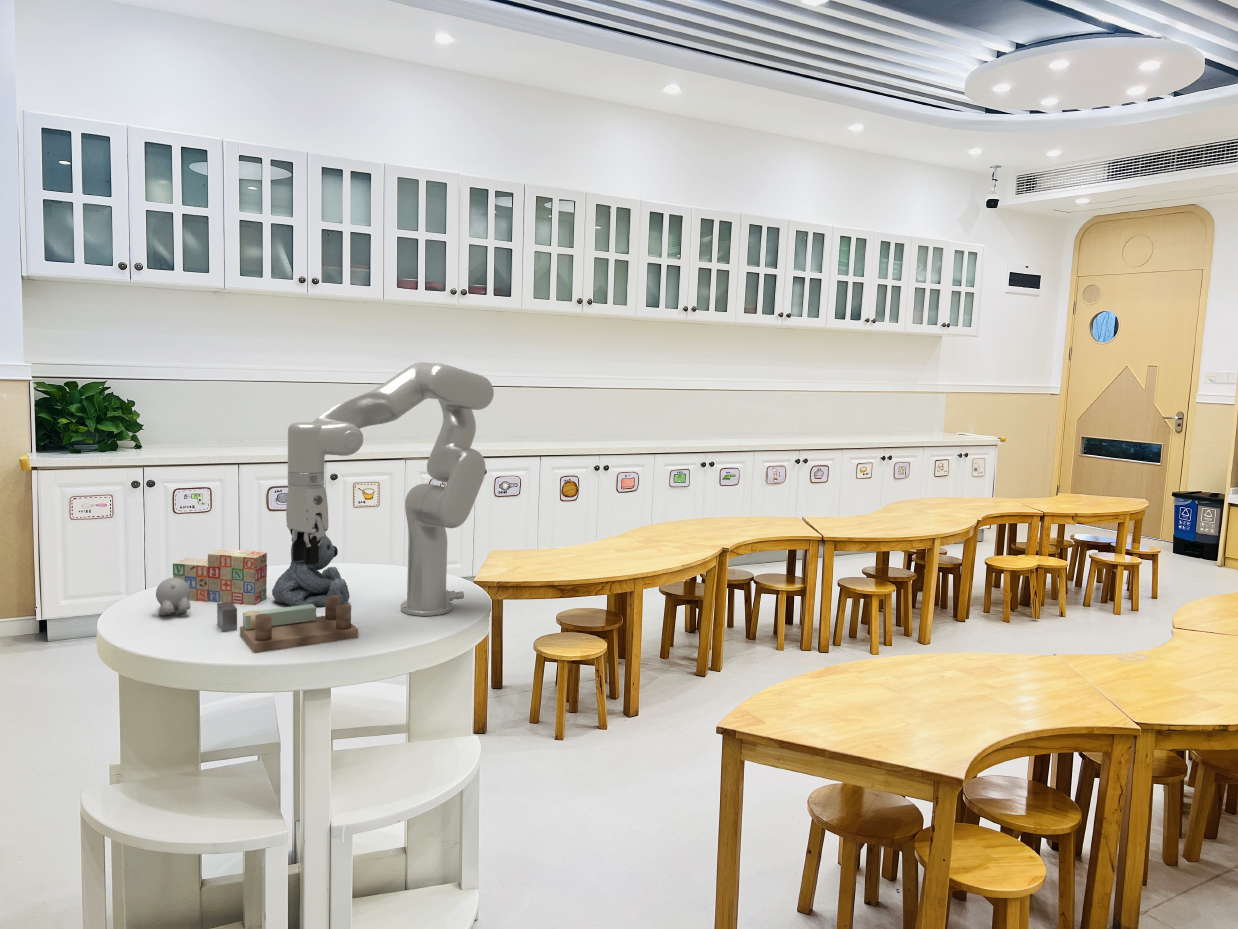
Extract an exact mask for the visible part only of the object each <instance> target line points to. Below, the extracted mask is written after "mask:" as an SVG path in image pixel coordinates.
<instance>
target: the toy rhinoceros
mask: <svg viewBox="0 0 1238 929" xmlns="http://www.w3.org/2000/svg"><path fill="white" fill-rule="evenodd" d="M189 597H190V587H189V585H188V584H187V583H186V582H185V581H184V580H182V579H180V578H173V577H170V578H166V579H163V580H162V581H161V582H159V584H158V586H157V587H156V591H155V599H156V601H157V602H158V604H159V605H160V607H159V610H158V613H159V616H164V617H165V616H171V615H172V613H175V614H176V615H177V614H178V615H180V614H185V613H187V612H188V611H189V610H191V603H190V600H188V599H189Z"/></svg>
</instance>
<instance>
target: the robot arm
mask: <svg viewBox="0 0 1238 929" xmlns="http://www.w3.org/2000/svg"><path fill="white" fill-rule="evenodd" d="M494 394H495V392H494V387H493V385H492V382H491V381H490V380H489V379H488V378H487V377H485V376H484V375H481V374H478V373H474V372H471V371H468V370H465V369H462V368H458V367H454V366H452V365H449V364H444V363H438V362H437V363H436V362H425V361H423V362H416V363H414V364H411V365H409V366H408V367H406V368H405V369H403V370H402V371H400V372H399V373H397V374H395V375H394V376H393V377H391V378H390V379H388V380H387V381H385V382H384V383H382V384H381V385H379V386H377V387H375V388H374V389H372V390H370V391H367V392H364V393H363V394H360V395H358V396H355V397H353V398H350V399H348V400H345V401H343V402H341V403H339V404H336V405H334V406H333V407H332V408H330V409H328V410H327V411H325V412H324V413H322V414H321V415H320V416H318V417H316V419H314V420H313V421H312V422H305V421H301V422H292V423H291V424H290V425H289V426H288V428H287V429H288V430H287V495H286V510H285V511H286V513H285V516H286V518H285V519H286V521H285V522H286V527H287V529H288V530H289V533H290V535H291V543H292V542H293V561H300V560H304V564H305V565H311V564H317V563H318V562H319V546H320V541H321V540H322V539H323V538H324V537H325V536H327V534H326V532H327V531H329V530H328V529H329V506H328V504H329V503H328V496H327V490H326V487H325V462H326V461H325V459H326V458H325V456H340V457H341V456H342V457H347V456H351V455H354V454H355V453H357V452H359V451H360V450H361V448H362V447H363V443H364V435H363V432H362V430H361V429H363V428H367V427H371V426H376V425H384V424H387V423H391V422H394V421H397V420H398V419H399V418H401V417H403V416H404V415H406V413H408V412H410V411H411V410H412V409H413V408H415V407H417V406H418V405H419V404H421V403H422V402H424V401H425V400H427V399H431V400H432V399H434V400H438V403H439V406H440V409H441V411H442V425H441V428H440V431H439V434H438V435H437V437H436V441H435V443H434V446H433V448H432V449H431V452H430V454H429V457H428V459H427V462H426V471H427V474H428V476H430V477H431V478H432V479H434V480H435V481H438V482H441V483H446V484H445V486H441V485H437V484H431V483H420V484H417V485H415V486H413V487H412V488H411V489H409V491H408V493H407V494H406V497H405V500H404V511H405V516H406V522H407V533H408V534H407V536H408V537H407V538H408V539H407V540H408V542H407V543H408V544H407V546H408V547H407V582H406V584H407V587H406V588H407V589H406V590H407V591H406V592H407V593H406V600H405V601H403V602H401V603H400V611H401V612H402V613H405V614H408V615H411V616H421V617H424V616H425V617H427V616H429V617H430V616H438V615H444V614H446V613H449V612H451V611H452V609H453V603H452V602H453V601H455V600H463V599H465V593H464V591H456V590H448V589H447V572H448V571H447V570H448V569H447V567H448V566H447V565H448V563H447V562H448V534H447V530H446V528H447V529H455V528H456V529H457V528H458V527H460V526H462V525H463V524H464V523H465V522H466V520H467V519H468V518H469V515H470V514H471V511H472V509H473V507H474V504H475V501H476V499H477V497H478V494H479V492H480V490H481V487H482V484H483V482H484V479H485V476H486V461H485V459H484V456H483V454H482V453H481V452H480V451H478V450H477V449H475V448H472V445H473V442H474V439H475V436H476V431H477V424H476V418H475V415H474V411H475V410H476V411H478V410H483V409H485V408H487V407H489V405H490V404H491V403H492V402H493V398H494ZM473 410H474V411H473ZM312 529H315V531H314V532H312V531H313V530H312ZM310 535H315V536H313V537H312V538H311V537H310ZM305 540H306V541H305ZM304 541H305V542H304Z"/></svg>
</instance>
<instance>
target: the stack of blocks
mask: <svg viewBox="0 0 1238 929" xmlns="http://www.w3.org/2000/svg"><path fill="white" fill-rule="evenodd" d="M267 564H268V552H267V551H266V552H263V551H255V550H248V549H247V550H246V549H243V550H241V549H229V548H228V549H226V548H218V549H217V550H214V551H213V552H210V553H208V554H207V559H205V558H192V557H191V558H190V557H185V558H183V559H180V560H179V561H176V562H174V563H173V562H172V576H173V577H172V578H180V579H182V580H184V581H185V582H186V583H187V584H188V585H189V587H190V597H189V599H188V600H189V601H194V602H195V601H196V602H197V601H198V602H209V603H224V602H232V603H233V604H234V605H247V606H256V605H258V604H259V603H261V602H263V601H264V600H266V599H267V581H268V580H267V578H268V577H267V576H268V575H267V574H268V565H267Z"/></svg>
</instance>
